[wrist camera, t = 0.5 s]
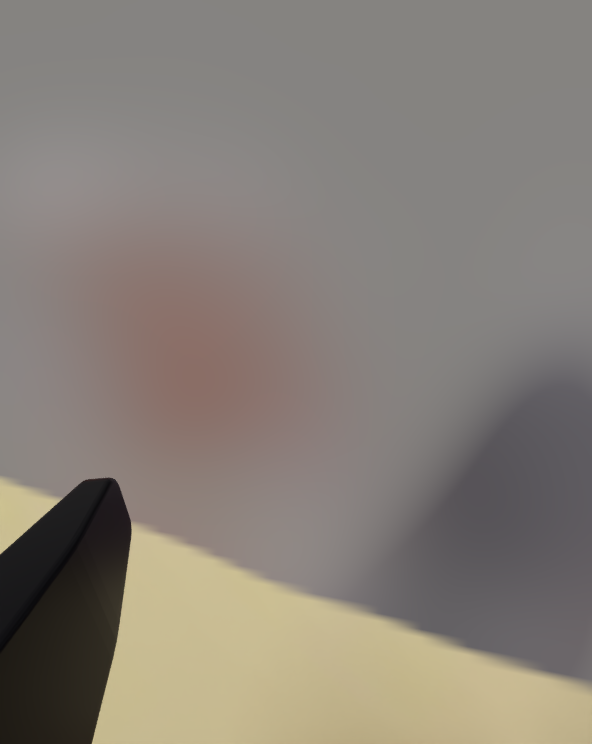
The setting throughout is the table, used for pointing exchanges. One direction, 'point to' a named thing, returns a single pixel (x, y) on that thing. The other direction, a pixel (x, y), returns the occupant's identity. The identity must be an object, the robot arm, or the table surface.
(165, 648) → the table surface
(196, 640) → the table surface
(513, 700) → the table surface
